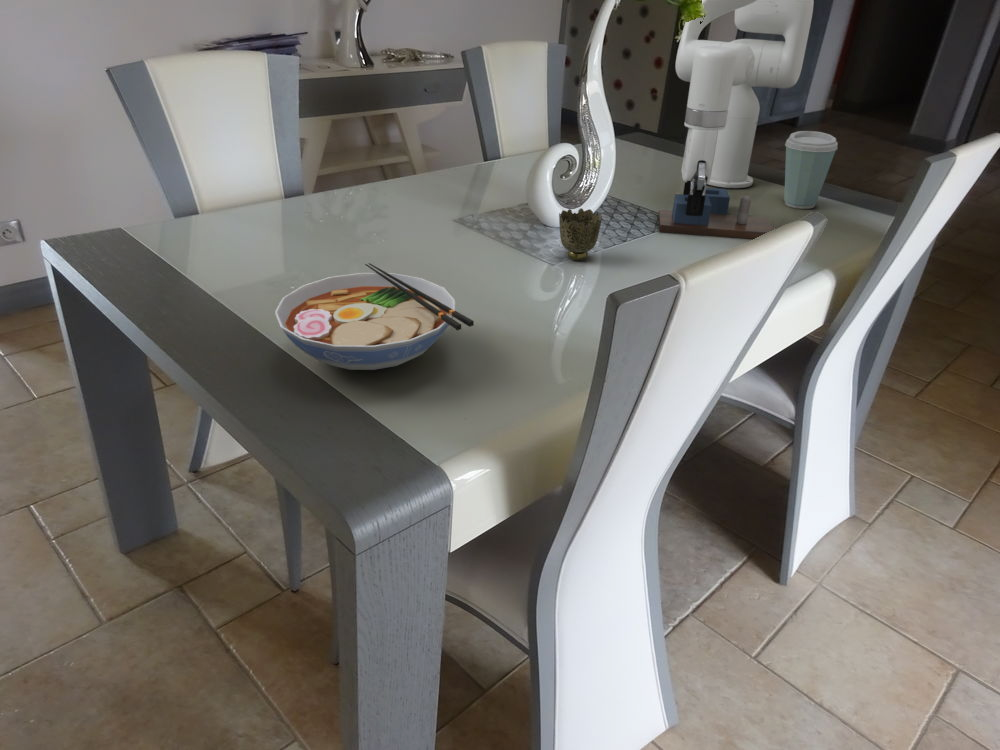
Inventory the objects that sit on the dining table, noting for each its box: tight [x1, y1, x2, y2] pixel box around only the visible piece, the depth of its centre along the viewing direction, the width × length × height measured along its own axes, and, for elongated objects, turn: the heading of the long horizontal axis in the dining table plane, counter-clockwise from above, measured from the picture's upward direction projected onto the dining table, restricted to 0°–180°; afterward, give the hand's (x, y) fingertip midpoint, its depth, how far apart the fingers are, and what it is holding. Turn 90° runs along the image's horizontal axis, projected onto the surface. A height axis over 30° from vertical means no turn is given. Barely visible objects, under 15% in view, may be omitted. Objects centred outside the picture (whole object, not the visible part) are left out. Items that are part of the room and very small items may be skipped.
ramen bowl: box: [274, 262, 475, 371], centre depth 97 cm, size 25×23×8 cm
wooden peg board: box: [657, 194, 775, 240], centre depth 147 cm, size 10×22×7 cm, turn 81°
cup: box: [558, 207, 603, 262], centre depth 130 cm, size 8×7×8 cm
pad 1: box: [672, 193, 711, 226], centre depth 148 cm, size 7×7×4 cm
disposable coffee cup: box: [783, 130, 839, 210], centre depth 161 cm, size 11×11×15 cm
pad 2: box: [705, 187, 731, 215], centre depth 158 cm, size 7×7×4 cm
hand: (691, 207), depth 148 cm, fingers open, 9 cm apart
